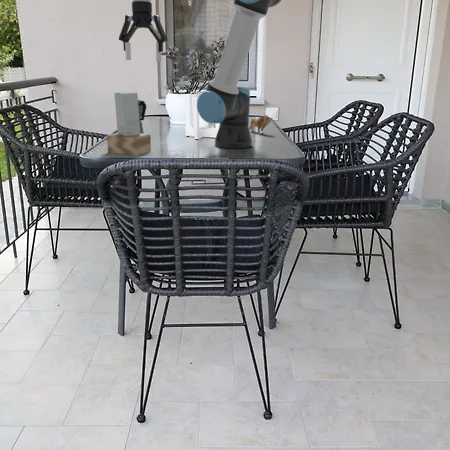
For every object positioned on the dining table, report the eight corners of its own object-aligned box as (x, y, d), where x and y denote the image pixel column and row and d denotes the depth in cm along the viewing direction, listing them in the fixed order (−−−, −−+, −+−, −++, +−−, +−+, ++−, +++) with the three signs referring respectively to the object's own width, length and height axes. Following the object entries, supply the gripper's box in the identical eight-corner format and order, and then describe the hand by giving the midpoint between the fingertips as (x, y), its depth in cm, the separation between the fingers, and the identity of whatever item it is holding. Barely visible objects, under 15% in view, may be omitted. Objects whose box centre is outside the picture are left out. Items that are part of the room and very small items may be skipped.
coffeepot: (115, 135, 210) (113, 93, 205) (132, 133, 217) (131, 92, 211) (137, 139, 201) (136, 95, 195) (154, 137, 208) (154, 94, 202)
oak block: (150, 151, 178) (150, 134, 176) (136, 155, 169) (136, 137, 167) (123, 148, 182) (122, 131, 180) (107, 152, 173) (107, 135, 171)
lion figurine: (271, 134, 226) (272, 115, 223) (263, 135, 223) (264, 115, 220) (250, 130, 236) (251, 112, 233) (242, 131, 233) (243, 112, 230)
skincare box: (140, 135, 172) (139, 93, 167) (124, 136, 168) (122, 93, 164) (131, 132, 178) (129, 91, 173) (115, 133, 175) (113, 91, 170)
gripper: (175, 2, 180) (176, 61, 187) (118, 2, 188) (121, 59, 195) (166, -1, 174) (167, 61, 181) (108, 0, 182) (110, 59, 189)
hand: (143, 60), depth 188 cm, fingers open, 13 cm apart
